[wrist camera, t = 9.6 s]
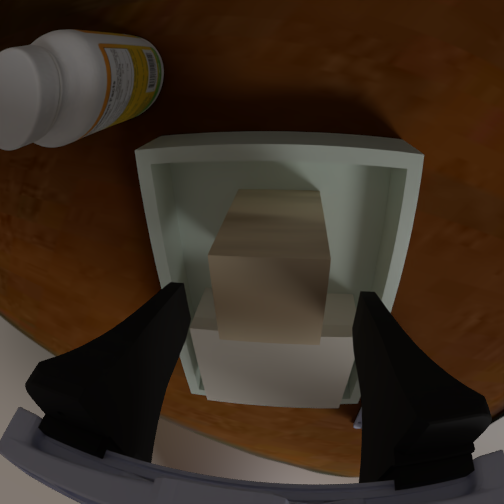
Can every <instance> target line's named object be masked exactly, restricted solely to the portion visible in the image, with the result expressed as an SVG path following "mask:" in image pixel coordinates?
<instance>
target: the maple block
mask: <svg viewBox="0 0 504 504" xmlns="http://www.w3.org/2000/svg"><path fill="white" fill-rule="evenodd" d="M208 262H209V270H210V277H211V285H212V292H213V299H214V306H215V313H216V319H217V326H218V332H219V339H221V340H233V341H247V342H262V343H280V344H303V345H320V339H321V332H322V326H323V319H324V312H325V304H326V297H327V289H328V281H329V273H330V264H331V257H330V250H329V243H328V237H327V231H326V225H325V219H324V213H323V207H322V201H321V196H320V191H311V190H274V189H238V191H237V194H236V196H235V198H234V200H233V202H232V204H231V206H230V208H229V210H228V212H227V214H226V217H225V219H224V221H223V223H222V225H221V227H220V229H219V232H218V234H217V236H216V238H215V240H214V242H213V244H212V247H211V249H210V251H209V253H208Z"/></svg>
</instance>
